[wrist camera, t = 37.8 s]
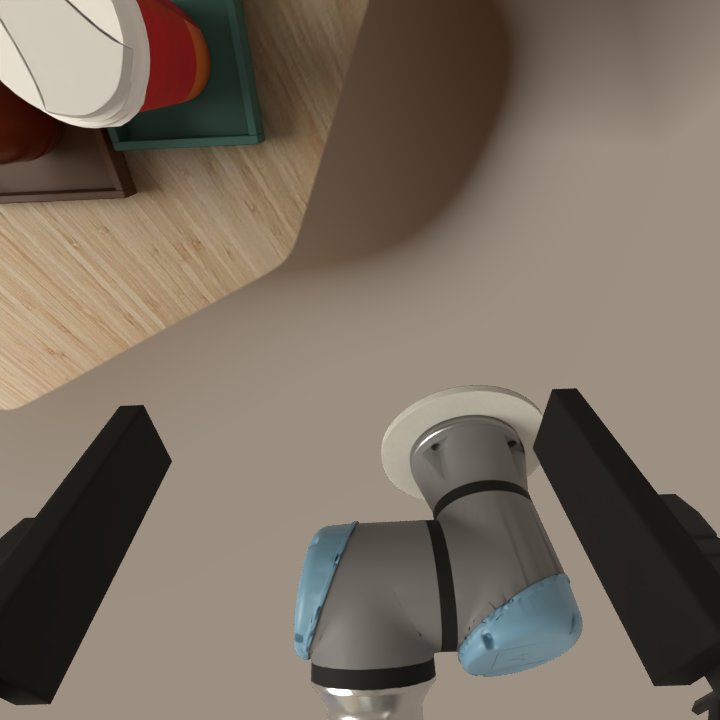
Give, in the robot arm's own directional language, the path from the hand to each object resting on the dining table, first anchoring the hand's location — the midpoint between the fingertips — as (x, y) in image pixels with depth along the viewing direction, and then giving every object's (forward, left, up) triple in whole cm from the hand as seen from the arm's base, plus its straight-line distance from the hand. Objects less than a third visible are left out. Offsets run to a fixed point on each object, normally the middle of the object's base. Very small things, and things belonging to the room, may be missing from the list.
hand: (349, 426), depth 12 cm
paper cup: (+12, +13, -26) cm, 32 cm away
